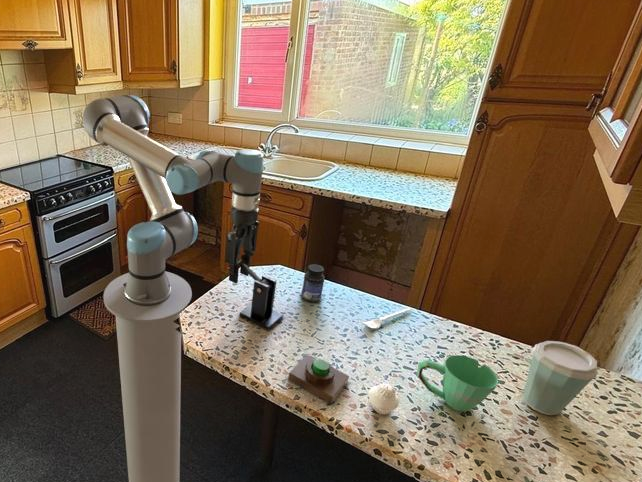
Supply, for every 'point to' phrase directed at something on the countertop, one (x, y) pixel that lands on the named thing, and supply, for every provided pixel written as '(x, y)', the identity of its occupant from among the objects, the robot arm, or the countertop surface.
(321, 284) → the pill bottle
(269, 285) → the lever
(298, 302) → the countertop surface
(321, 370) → the button
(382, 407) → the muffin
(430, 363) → the mug
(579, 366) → the disposable coffee cup
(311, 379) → the switch block
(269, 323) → the switch bracket
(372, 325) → the white spoon
